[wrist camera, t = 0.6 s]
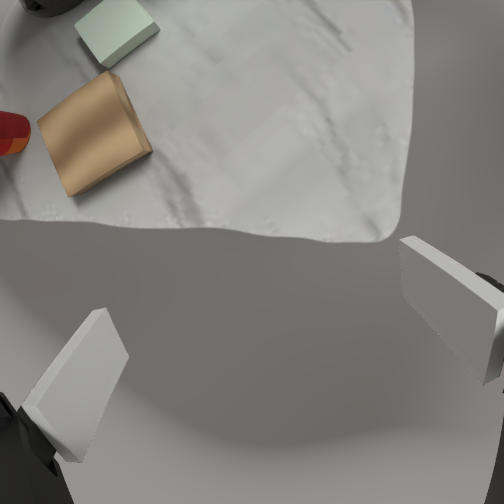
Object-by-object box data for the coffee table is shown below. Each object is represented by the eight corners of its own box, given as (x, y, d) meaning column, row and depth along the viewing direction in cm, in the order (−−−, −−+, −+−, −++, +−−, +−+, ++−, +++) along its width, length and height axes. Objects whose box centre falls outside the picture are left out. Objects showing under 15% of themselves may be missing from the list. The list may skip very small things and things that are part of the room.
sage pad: (83, 31, 31) (73, 25, 28) (130, -6, 30) (123, -15, 27) (109, 68, 33) (100, 63, 30) (160, 29, 32) (154, 21, 29)
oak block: (53, 122, 34) (36, 121, 31) (119, 76, 33) (106, 70, 29) (83, 193, 37) (68, 197, 34) (153, 150, 36) (143, 150, 33)
